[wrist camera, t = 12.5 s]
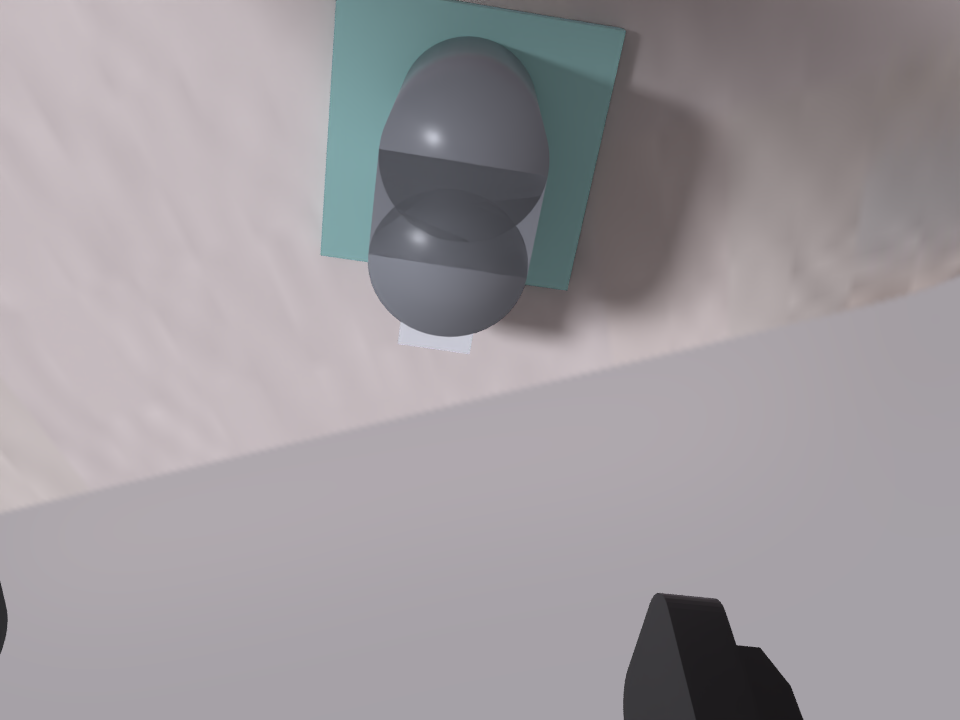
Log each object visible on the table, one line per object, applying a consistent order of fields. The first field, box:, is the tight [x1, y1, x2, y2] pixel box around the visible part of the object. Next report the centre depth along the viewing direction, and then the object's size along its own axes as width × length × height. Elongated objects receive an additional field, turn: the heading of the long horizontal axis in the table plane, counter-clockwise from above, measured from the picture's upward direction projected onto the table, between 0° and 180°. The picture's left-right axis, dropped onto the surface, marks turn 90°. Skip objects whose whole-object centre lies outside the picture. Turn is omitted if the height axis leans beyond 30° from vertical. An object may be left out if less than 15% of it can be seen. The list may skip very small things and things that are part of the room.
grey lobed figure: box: [368, 36, 549, 354], centre depth 25 cm, size 9×4×6 cm, turn 171°
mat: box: [321, 0, 626, 291], centre depth 28 cm, size 9×9×1 cm
